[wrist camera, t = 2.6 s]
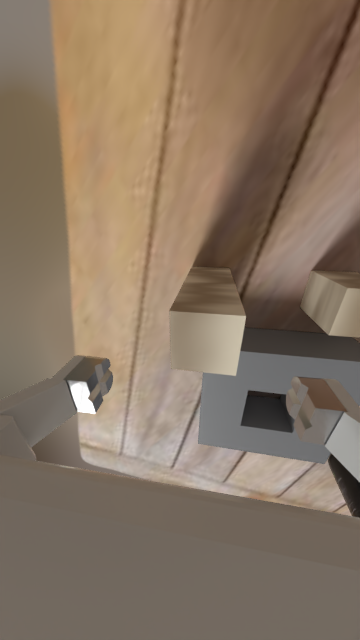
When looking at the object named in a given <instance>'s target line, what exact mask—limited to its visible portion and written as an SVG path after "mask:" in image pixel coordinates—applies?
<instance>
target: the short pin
mask: <svg viewBox="0 0 360 640" xmlns="http://www.w3.org/2000/svg"><path fill="white" fill-rule="evenodd" d="M300 308H301V309H302V310H303V311H304V312H305V313H306V314H307V315H308V316H309V317H310V318H311V319H312V320H313V321H314V322H316V323H317V324H318V325H319V326H320V327H321V328H322V329H323V330H324V331H325V332H326V333H327V334H328V335H332V336H345V337H359V338H360V273H357V272H343V271H312V270H311V272H310V276H309V279H308V282H307V286H306V289H305V292H304V295H303V299H302V302H301V305H300Z"/></svg>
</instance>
